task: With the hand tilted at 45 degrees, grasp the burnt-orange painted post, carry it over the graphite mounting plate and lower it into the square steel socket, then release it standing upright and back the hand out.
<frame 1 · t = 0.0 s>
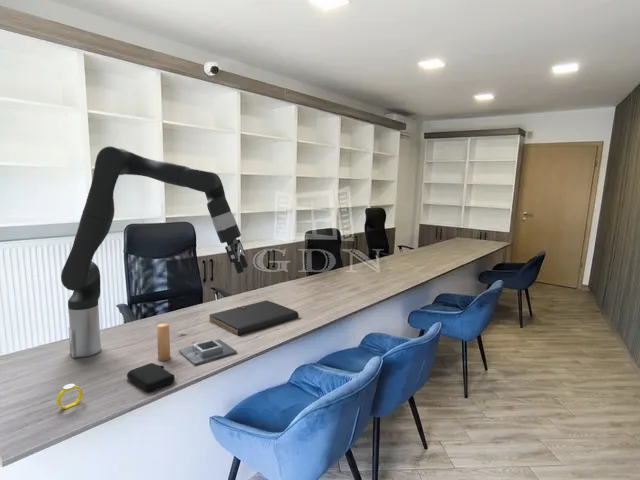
hand: (243, 269, 135), 31 cm above the counter, tool tilted 20°, fingers open, 8 cm apart
post: (164, 358, 135), on the counter
black book: (254, 321, 176), on the counter
carrying case or bag: (152, 381, 120), on the counter
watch: (70, 406, 105), on the counter
mounting plate: (207, 352, 140), on the counter
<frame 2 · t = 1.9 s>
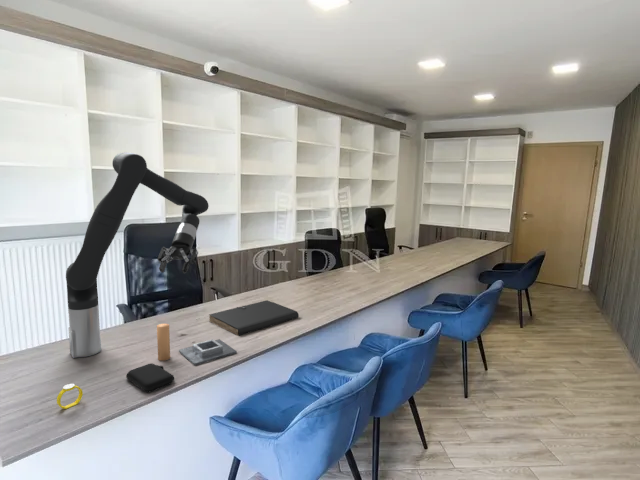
hand: (172, 271, 142), 29 cm above the counter, tool tilted 45°, fingers open, 8 cm apart
nothing on the counter moved.
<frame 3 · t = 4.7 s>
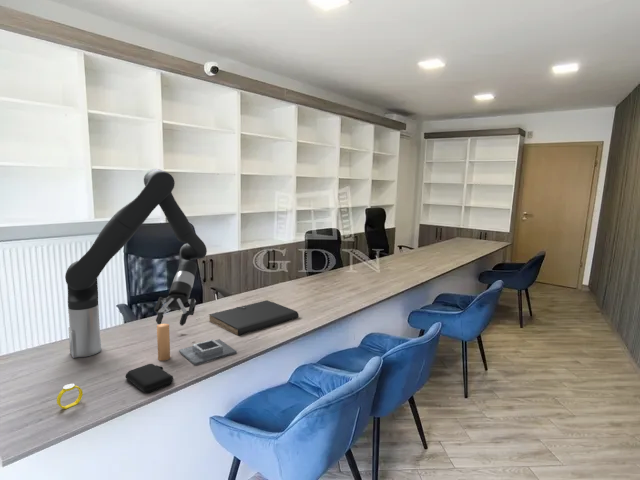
hand: (169, 324, 138), 11 cm above the counter, tool tilted 45°, fingers open, 8 cm apart
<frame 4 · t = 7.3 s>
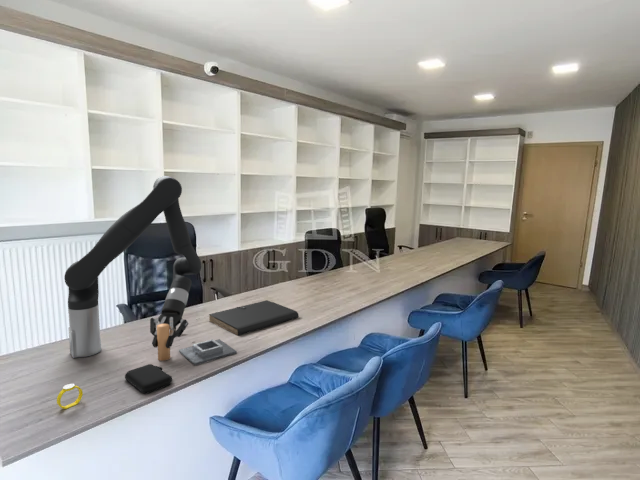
hand: (161, 346, 132), 5 cm above the counter, tool tilted 45°, fingers closed on post, 4 cm apart
post: (164, 358, 135), on the counter, touching gripper
everything else where it was.
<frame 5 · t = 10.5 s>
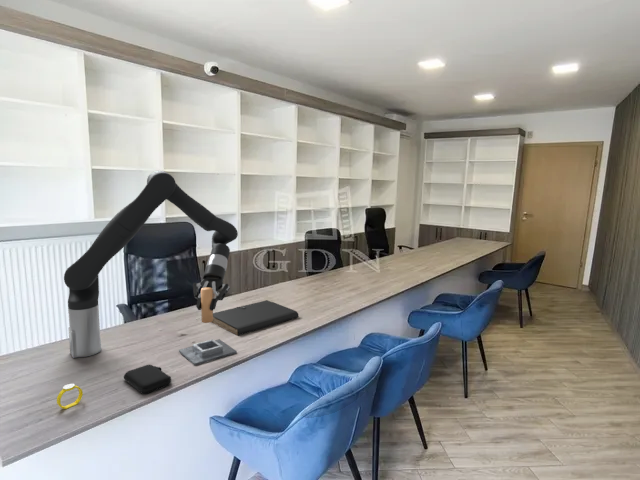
hand: (205, 309, 136), 17 cm above the counter, tool tilted 45°, fingers closed on post, 4 cm apart
post: (207, 320, 139), point 12 cm above the counter, touching gripper
when the fingers open (7 cm above the counter, at t = 13.5 s): post drops 1 cm, resting on mounting plate.
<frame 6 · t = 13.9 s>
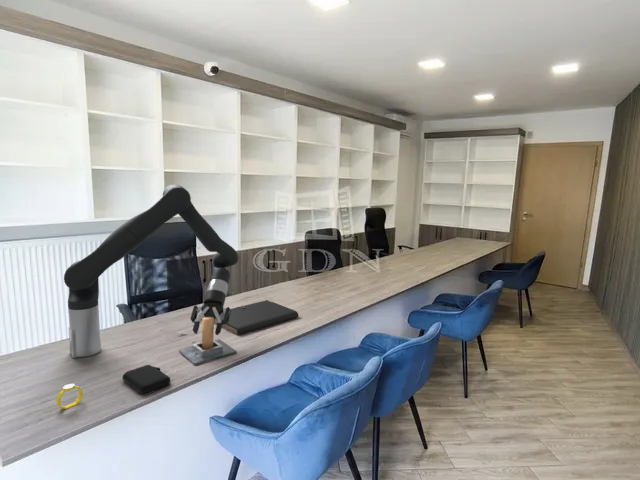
hand: (205, 333, 138), 8 cm above the counter, tool tilted 45°, fingers open, 7 cm apart
post: (207, 350, 140), point 1 cm above the counter, touching mounting plate
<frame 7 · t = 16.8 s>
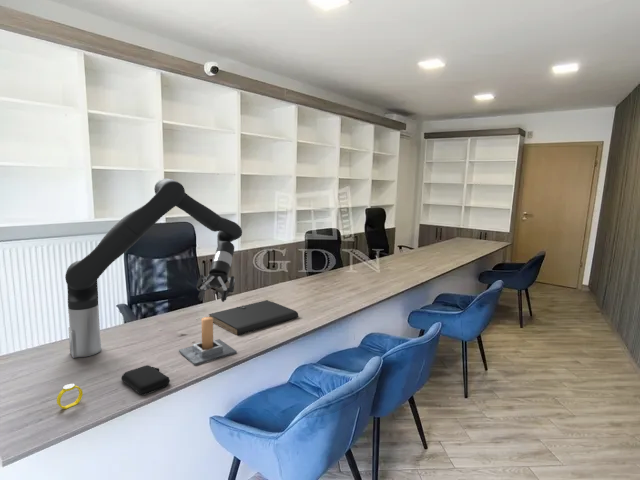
hand: (211, 300, 145), 17 cm above the counter, tool tilted 45°, fingers open, 8 cm apart
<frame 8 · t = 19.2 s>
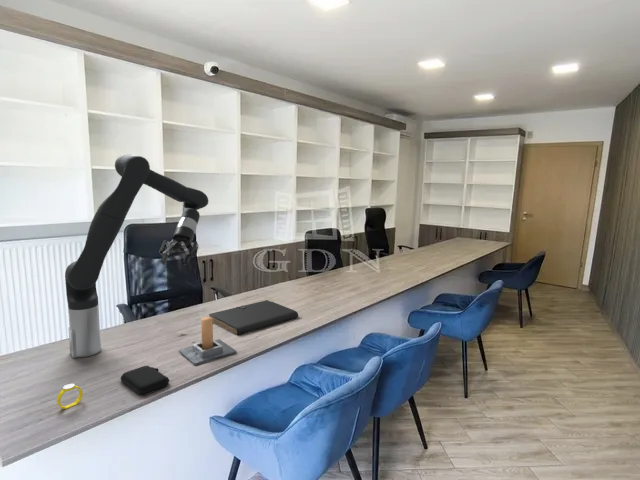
hand: (173, 264, 146), 31 cm above the counter, tool tilted 45°, fingers open, 8 cm apart
at the end: post 0.1 cm off-centre on the mounting plate, point 0.8 cm above the mounting plate's base; post tilted 0°; the gripper is holding nothing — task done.
